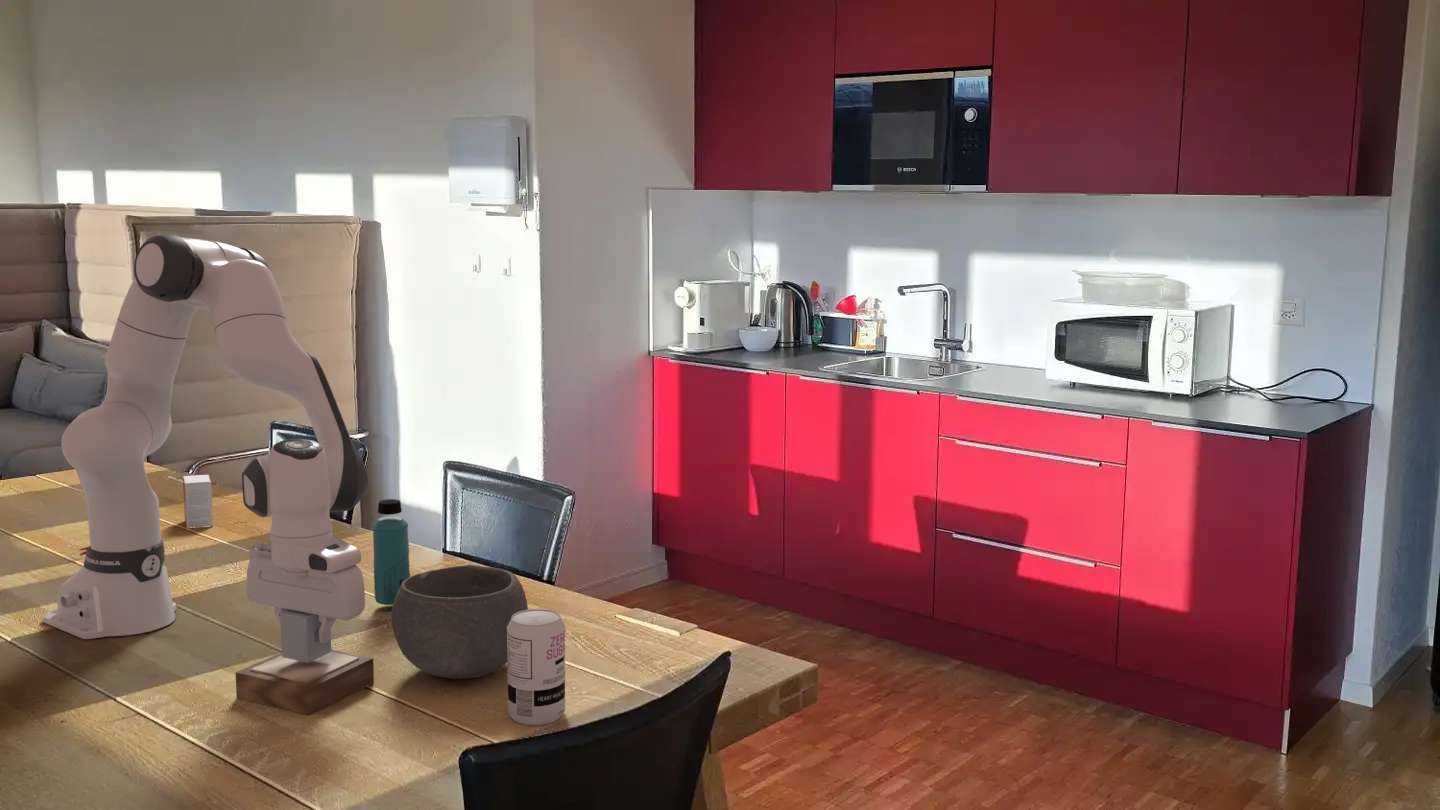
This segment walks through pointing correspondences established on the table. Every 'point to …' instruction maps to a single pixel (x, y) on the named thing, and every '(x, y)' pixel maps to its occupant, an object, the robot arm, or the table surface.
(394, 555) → the beverage bottle
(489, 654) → the bowl
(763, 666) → the table surface
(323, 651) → the block
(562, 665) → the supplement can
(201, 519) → the small box
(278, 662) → the base
